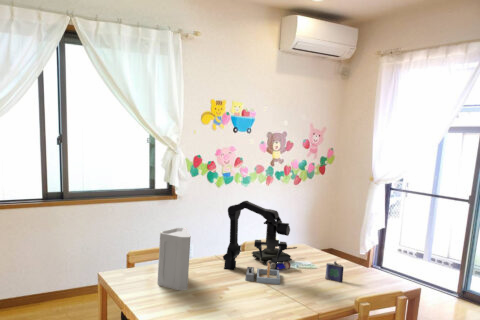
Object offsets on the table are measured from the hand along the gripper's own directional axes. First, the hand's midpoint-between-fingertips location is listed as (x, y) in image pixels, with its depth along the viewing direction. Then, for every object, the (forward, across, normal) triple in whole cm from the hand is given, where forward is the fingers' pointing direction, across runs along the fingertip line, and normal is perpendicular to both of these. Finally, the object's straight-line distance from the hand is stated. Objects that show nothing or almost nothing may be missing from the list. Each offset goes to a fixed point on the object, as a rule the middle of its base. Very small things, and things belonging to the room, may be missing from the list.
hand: (269, 258), depth 199 cm
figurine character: (+12, +7, +17) cm, 22 cm away
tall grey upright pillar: (+12, -53, -17) cm, 57 cm away
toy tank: (+12, +6, +35) cm, 38 cm away
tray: (+12, 0, 0) cm, 12 cm away
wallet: (+12, +39, +7) cm, 42 cm away
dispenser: (+12, -11, 0) cm, 16 cm away
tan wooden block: (+12, 0, 0) cm, 12 cm away
